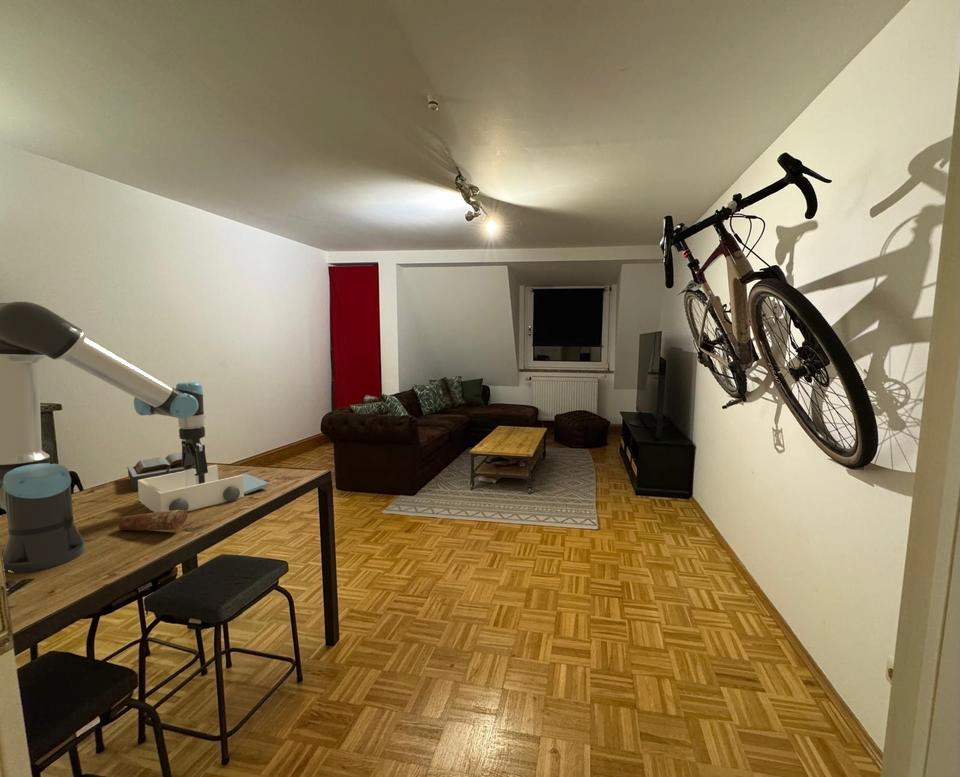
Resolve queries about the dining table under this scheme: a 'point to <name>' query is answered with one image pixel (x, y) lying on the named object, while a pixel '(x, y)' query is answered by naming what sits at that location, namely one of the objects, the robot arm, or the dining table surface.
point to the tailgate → (252, 483)
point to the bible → (155, 468)
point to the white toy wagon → (188, 491)
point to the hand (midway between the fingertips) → (195, 489)
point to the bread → (154, 521)
